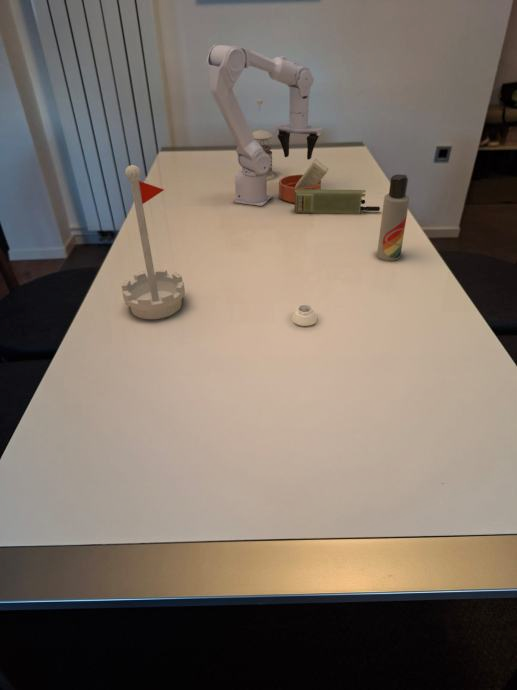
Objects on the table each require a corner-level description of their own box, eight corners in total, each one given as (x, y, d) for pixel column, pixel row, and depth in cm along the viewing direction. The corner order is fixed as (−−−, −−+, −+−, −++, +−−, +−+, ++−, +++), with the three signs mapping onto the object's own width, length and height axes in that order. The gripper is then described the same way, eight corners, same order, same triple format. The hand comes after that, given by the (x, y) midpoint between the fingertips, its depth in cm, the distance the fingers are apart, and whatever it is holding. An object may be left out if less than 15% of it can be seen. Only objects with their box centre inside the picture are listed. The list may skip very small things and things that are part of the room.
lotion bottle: (400, 262, 121) (413, 180, 109) (376, 260, 122) (387, 179, 110) (399, 251, 126) (412, 172, 114) (377, 250, 127) (386, 171, 115)
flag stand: (128, 326, 102) (95, 180, 84) (124, 295, 112) (94, 159, 94) (190, 315, 104) (172, 172, 86) (181, 286, 114) (163, 152, 96)
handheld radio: (295, 209, 150) (378, 210, 148) (294, 214, 148) (379, 215, 145) (295, 188, 146) (381, 188, 144) (294, 192, 144) (382, 193, 141)
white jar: (310, 311, 104) (288, 317, 103) (310, 299, 102) (288, 305, 101) (320, 324, 100) (298, 329, 99) (321, 311, 99) (298, 317, 97)
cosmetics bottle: (308, 192, 160) (328, 168, 154) (306, 197, 156) (327, 172, 151) (296, 182, 159) (316, 157, 153) (294, 187, 155) (314, 161, 149)
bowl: (272, 201, 156) (272, 185, 153) (287, 187, 166) (287, 172, 163) (312, 206, 152) (313, 190, 149) (325, 192, 162) (326, 177, 159)
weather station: (244, 179, 174) (240, 101, 159) (253, 169, 183) (251, 94, 168) (270, 181, 172) (270, 102, 157) (279, 171, 181) (279, 95, 166)
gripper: (325, 110, 151) (323, 156, 159) (281, 107, 155) (281, 152, 163) (318, 115, 145) (316, 162, 153) (272, 112, 150) (273, 158, 158)
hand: (297, 157), depth 158 cm, fingers open, 7 cm apart
